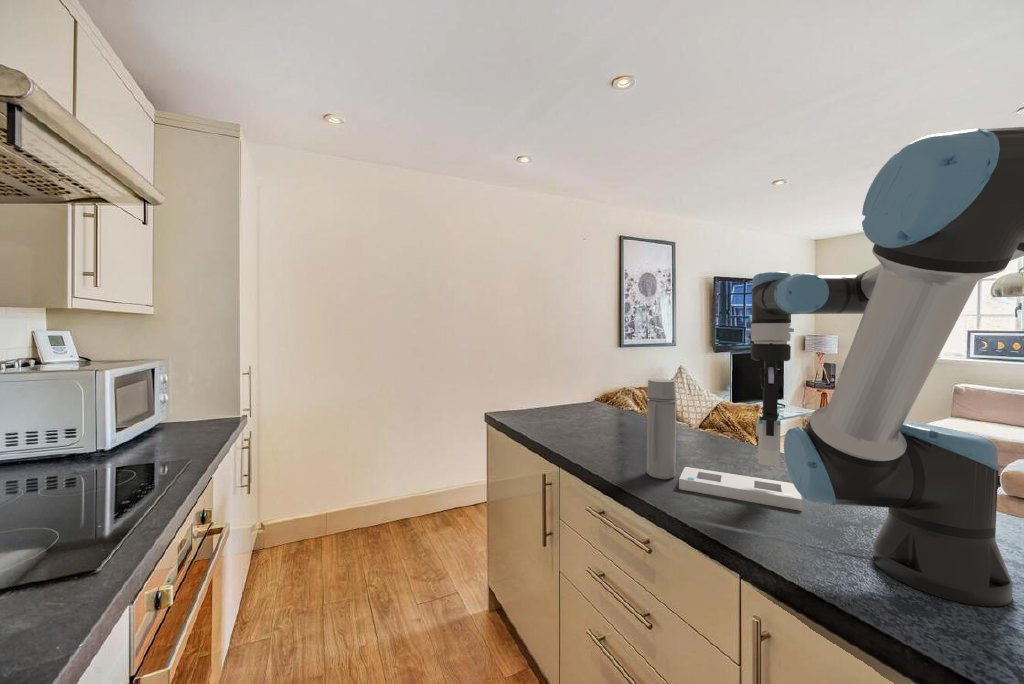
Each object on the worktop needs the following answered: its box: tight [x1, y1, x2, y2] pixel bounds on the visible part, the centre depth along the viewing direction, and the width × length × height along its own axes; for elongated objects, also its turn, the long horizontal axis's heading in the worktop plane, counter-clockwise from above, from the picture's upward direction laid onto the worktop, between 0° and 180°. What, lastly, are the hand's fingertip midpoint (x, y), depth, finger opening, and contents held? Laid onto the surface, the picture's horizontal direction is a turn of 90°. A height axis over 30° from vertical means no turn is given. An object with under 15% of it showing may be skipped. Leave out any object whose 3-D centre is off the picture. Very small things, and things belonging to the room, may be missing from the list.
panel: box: [678, 466, 803, 512], centre depth 97 cm, size 10×24×3 cm, turn 60°
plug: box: [755, 415, 782, 468], centre depth 94 cm, size 4×5×10 cm
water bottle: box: [645, 378, 678, 480], centre depth 109 cm, size 9×8×25 cm
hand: (769, 447), depth 94 cm, fingers closed on plug, 4 cm apart
